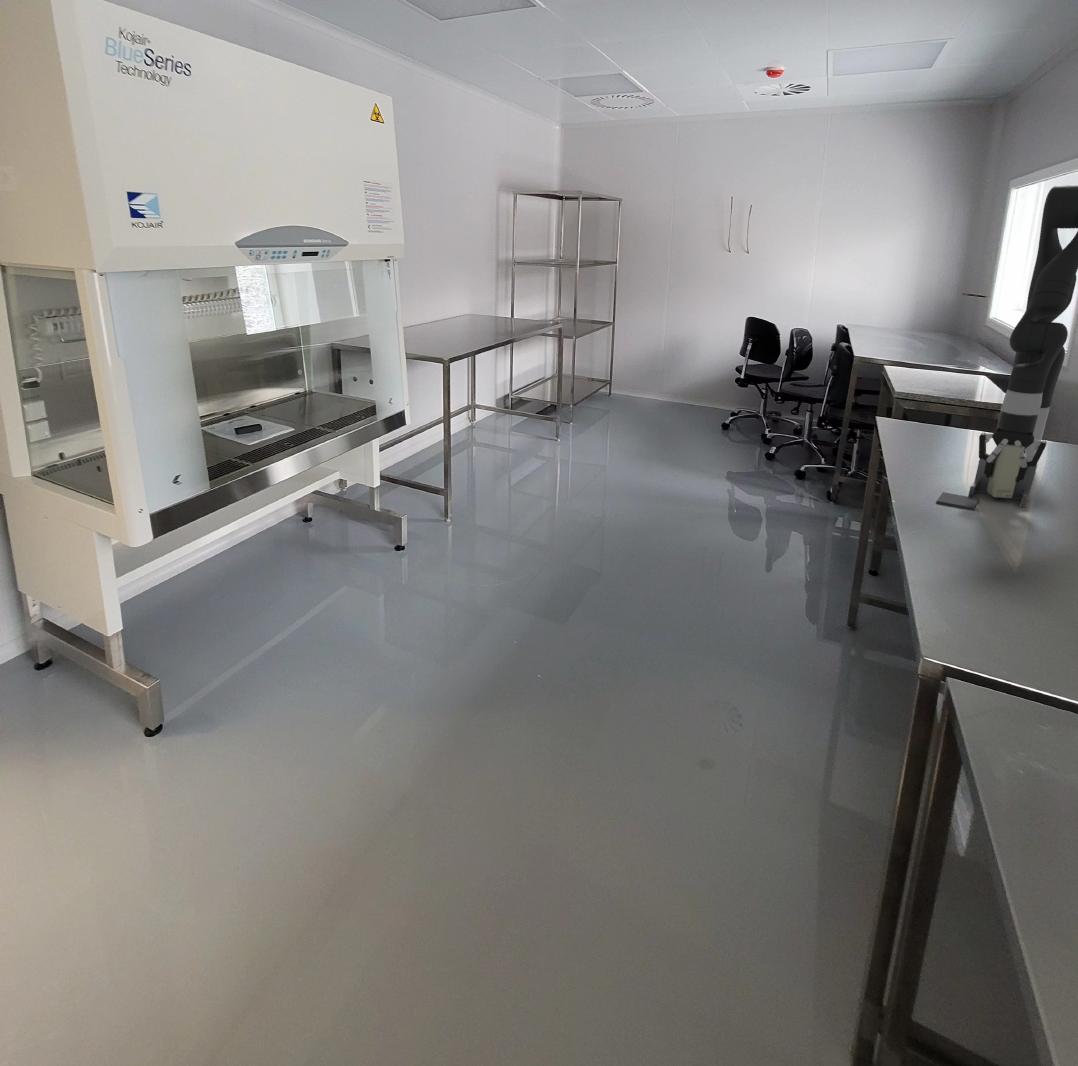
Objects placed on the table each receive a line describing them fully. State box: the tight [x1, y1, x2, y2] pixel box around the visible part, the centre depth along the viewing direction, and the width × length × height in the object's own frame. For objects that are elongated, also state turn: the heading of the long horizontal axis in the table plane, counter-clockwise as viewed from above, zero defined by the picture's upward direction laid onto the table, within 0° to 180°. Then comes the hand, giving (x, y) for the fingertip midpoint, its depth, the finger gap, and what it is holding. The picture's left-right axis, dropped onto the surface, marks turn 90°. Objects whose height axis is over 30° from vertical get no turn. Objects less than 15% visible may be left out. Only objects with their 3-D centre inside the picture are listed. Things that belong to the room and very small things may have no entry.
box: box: [987, 444, 1025, 499], centre depth 177 cm, size 5×4×13 cm
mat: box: [935, 491, 980, 511], centre depth 178 cm, size 8×8×1 cm
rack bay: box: [967, 458, 1038, 509], centre depth 178 cm, size 8×12×9 cm, turn 53°
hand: (1002, 478), depth 178 cm, fingers closed on box, 5 cm apart
